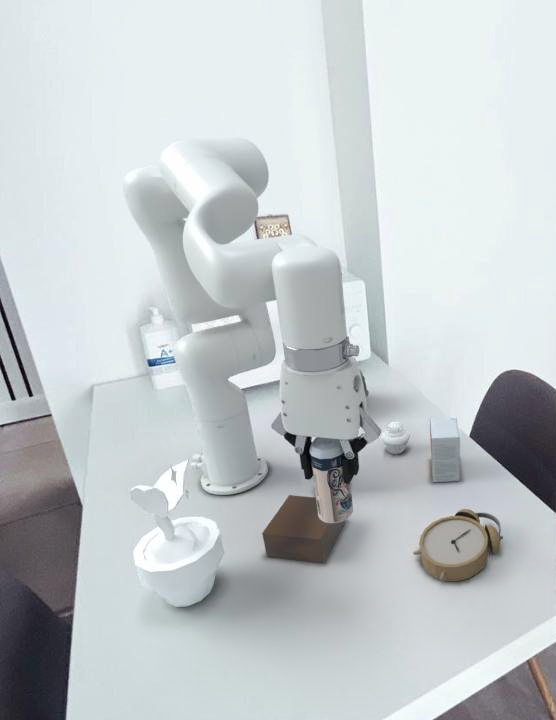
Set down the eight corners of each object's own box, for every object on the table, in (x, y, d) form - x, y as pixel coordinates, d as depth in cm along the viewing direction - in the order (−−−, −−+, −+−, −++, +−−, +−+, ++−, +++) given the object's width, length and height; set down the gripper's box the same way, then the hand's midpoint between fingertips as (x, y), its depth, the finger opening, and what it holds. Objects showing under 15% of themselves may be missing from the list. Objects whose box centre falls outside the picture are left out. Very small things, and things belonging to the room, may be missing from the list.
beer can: (345, 528, 73) (337, 454, 68) (312, 523, 74) (301, 449, 69) (358, 505, 78) (351, 434, 73) (327, 501, 79) (318, 430, 74)
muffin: (379, 446, 121) (377, 418, 118) (406, 440, 123) (404, 413, 120) (386, 460, 116) (384, 432, 113) (414, 454, 118) (412, 426, 115)
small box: (431, 460, 116) (429, 417, 111) (457, 459, 116) (456, 415, 112) (432, 483, 108) (430, 438, 104) (460, 481, 109) (459, 436, 104)
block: (266, 556, 90) (261, 533, 88) (292, 517, 99) (289, 494, 97) (323, 563, 89) (320, 539, 87) (345, 522, 98) (342, 499, 96)
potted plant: (202, 628, 78) (162, 484, 68) (130, 617, 79) (80, 475, 69) (249, 563, 89) (221, 431, 79) (185, 554, 91) (149, 425, 81)
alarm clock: (404, 540, 89) (471, 490, 97) (409, 560, 92) (475, 510, 99) (447, 580, 81) (516, 522, 89) (452, 601, 84) (519, 543, 92)
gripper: (393, 344, 68) (399, 465, 76) (265, 336, 70) (284, 454, 78) (375, 370, 61) (384, 500, 69) (234, 359, 64) (258, 486, 71)
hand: (331, 474), depth 73 cm, fingers closed on beer can, 4 cm apart
